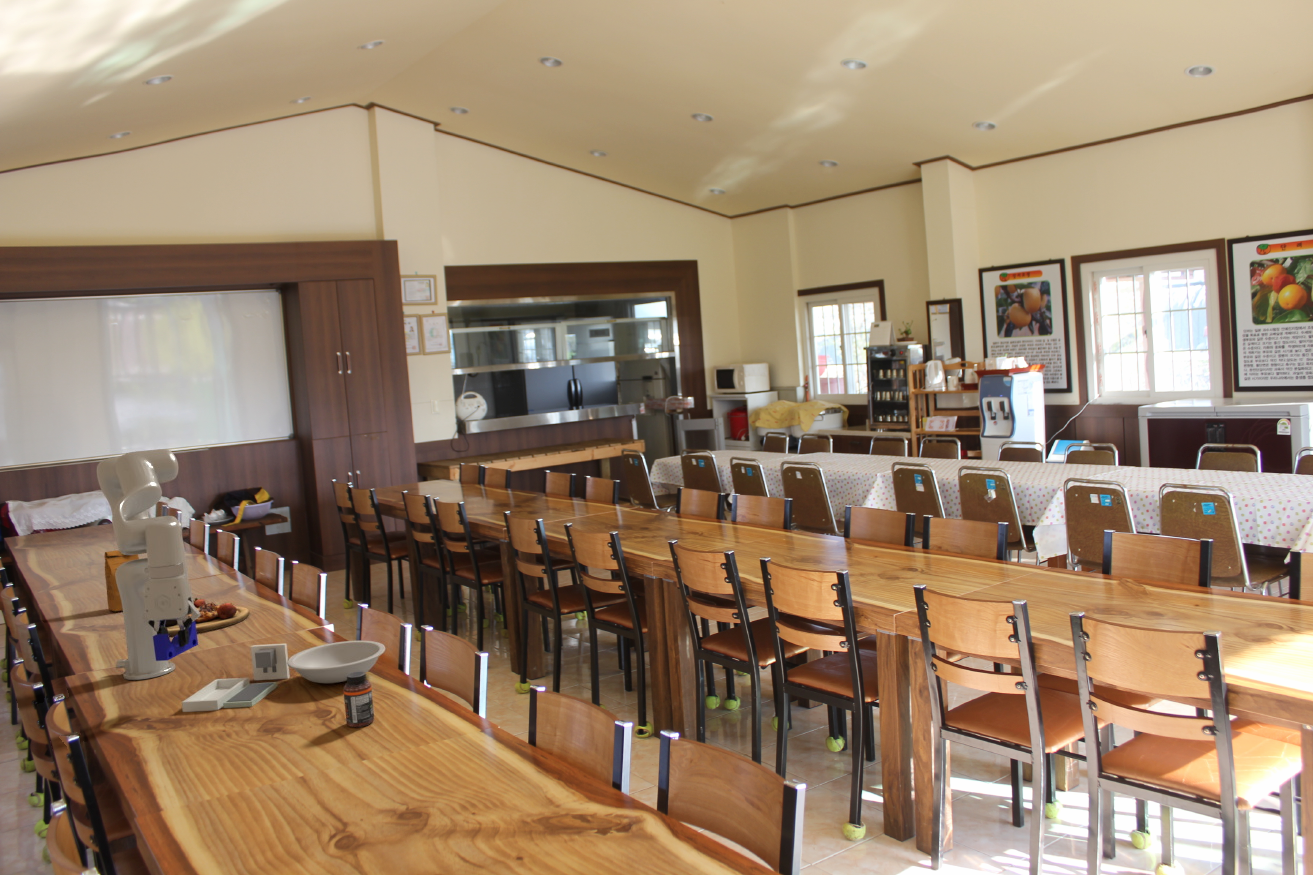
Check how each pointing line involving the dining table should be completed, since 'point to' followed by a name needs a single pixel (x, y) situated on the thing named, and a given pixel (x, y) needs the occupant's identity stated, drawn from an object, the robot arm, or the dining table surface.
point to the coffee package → (111, 564)
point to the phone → (250, 695)
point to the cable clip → (173, 644)
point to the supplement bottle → (358, 700)
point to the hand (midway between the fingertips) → (174, 644)
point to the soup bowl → (336, 660)
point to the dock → (214, 694)
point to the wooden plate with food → (211, 617)
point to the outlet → (270, 661)
